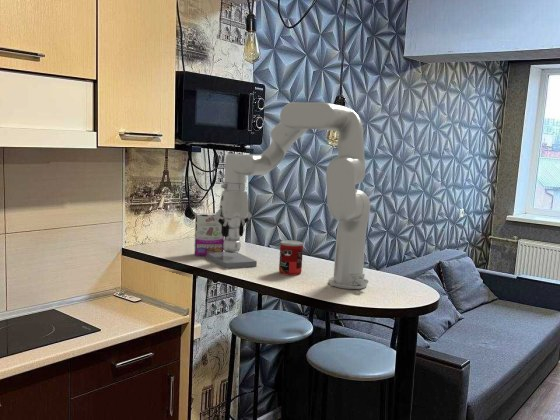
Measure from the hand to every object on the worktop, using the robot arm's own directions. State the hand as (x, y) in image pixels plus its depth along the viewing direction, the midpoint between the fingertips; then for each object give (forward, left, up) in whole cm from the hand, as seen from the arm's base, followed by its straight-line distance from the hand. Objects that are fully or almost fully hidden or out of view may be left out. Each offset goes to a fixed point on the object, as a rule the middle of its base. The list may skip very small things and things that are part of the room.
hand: (232, 235), depth 202 cm
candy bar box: (+14, +3, -10) cm, 18 cm away
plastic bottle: (0, 0, -7) cm, 7 cm away
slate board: (0, 0, -10) cm, 10 cm away
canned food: (-21, -13, -10) cm, 27 cm away
